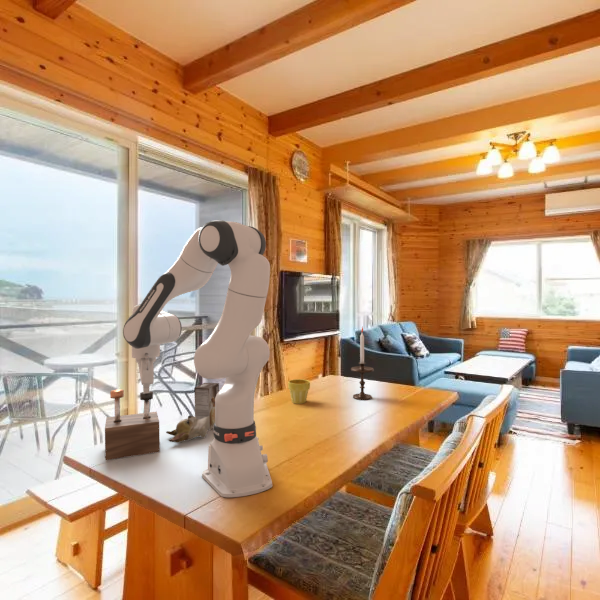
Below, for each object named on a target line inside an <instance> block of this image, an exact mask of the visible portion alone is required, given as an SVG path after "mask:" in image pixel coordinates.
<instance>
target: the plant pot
mask: <svg viewBox="0 0 600 600" xmlns="http://www.w3.org/2000/svg"><path fill="white" fill-rule="evenodd" d="M287 388H288V390H289V394H290V398H291V403H293V404H296V405H301V404H305V403H306V402H307V398H308V394H309V390H310V389H311V381H310V380H308V379H304V378H303V379H302V378H297V379H290V380H288V382H287Z"/></svg>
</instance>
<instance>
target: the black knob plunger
mask: <svg viewBox="0 0 600 600" xmlns="http://www.w3.org/2000/svg"><path fill="white" fill-rule="evenodd" d="M139 396H140V397H139V400H141V401H143V410H144V411H143V413H144V419H149V412H150V400H153V399H154V392H153V391H151V390H149V393H147V394H144V392H143V391H141V392H140V393H139Z"/></svg>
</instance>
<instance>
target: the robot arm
mask: <svg viewBox="0 0 600 600" xmlns="http://www.w3.org/2000/svg"><path fill="white" fill-rule="evenodd" d="M266 248H267V241H266V237H265V235H264V233H262V232H261V231H260V230H259V229H258V228H255V227H253V226H250V225H249V226H248V225H245V224H242V223H241V222H235V221H229V220H228V221H227V220H221V219H217V220H210V221H208V222H205V224H203V226H202V227H199V228H197V229H196V230H195V231H194V232H193V234H191V236H190V237H189V238H188V240H187V241H186V242H185V244H184V246H183V248H182V250H181V252H180V254H179V256H178V257H177V259H176V260H175V262H174V263H173V265H172V266H170V268H169V269H168V270H167V271H166V272H164V273H163V274H162V275H161V276H159V277H158V279H157V280H156V281H155V283H154V284H153V285H152V286H151V288H150V290H149V291H148V293H147V294H146V296H145V297H144V299H143V300H142V301H141V303H139V304H137V305H135V306H133V309H132V312H131V313H132V314H131V315H130V316H129V317H128V319H127V320H126V321H125V323H124V325H123V328H122V334H123V338H124V340H125V342H127V344H129V345H130V346H131V358H132V359H135V363H137V365H138V366H137V367H138V371H139V372H138V373H139V377H140V383H141V385H142V389H143V390H142V392H144V394H147V393H149V391H150V386H151V385H153V384H154V381H155V379H154V375H155V373H154V372H155V371H154V362H157V358H158V357H160V356H161V349H160V348H161V346H160V345H164V344H170V343H173V342H176V341H178V340H179V339H180V337H181V334H182V331H183V330H182V322H181V320H180V318H179V317H178V316H177V315H175V314H172V313H169V312H166V311H164V308H165V306H166V305H167V304H168V302H170V301H171V300H173V299H175V298H176V297H179V296H180V295H181V296H182V295H184V294H188V293H191V292H194V291H197V290H200V289H202V288H203V287H205V285H206V284H207V283H209V281H210V279H211V277H212V275H213V274H214V271H215V270H216V269H217V266H218V264H219V265H220V266H226V265H228V267H229V269H230V278H229V282H228V287H227V292H226V296H225V301H224V305H223V309H222V312H221V314H220V315H221V316H220V318H219V320H218V322H217V324H216V326H215V328H214V329H213V330H212V332H211V334H210V335H209V336H208V338H207V339H205V340H204V341H203V343H202V344H200V345H199V346H197V348H196V350H195V352H194V356H193V364H194V368H195V370H196V372H197V374H198V375H199V376H200V377H202V378H203V379H207V380H222V379H225V380H224V383H223V385H222V387H221V388H219V392H218V393H217V395H216V398H215V423H214V428H212V430H213V440H212V441H211V443H209V445H208V449H207V450H208V451H207V452H208V453H207V469H205V470H204V471H202V473H201V477H202V479H204V480H205V481H206V482H207V483H208V484H209V486H210V487H211V488H212V489H213V490H214V491H215V492H216V493H218V495H219V496H221V497H223V498H240V497H247V496H250V495H255V494H259V493H262V492H265V491H267V490H269V489H271V488H273V481H272V477H271V474H270V471H269V467H268V461H269V460H268V458H269V457H268V454H267V453H263V454H262V451H264V447H263V445H260V442H259V437H258V436H257V426H256V421H255V417H254V416H255V415H254V408H255V392H256V388H257V384H258V381H259V377H260V374H261V373H262V369H263V368H264V367H265V365H266V364H267V362H268V361H269V360H270V359H269V358H270V353H271V352H270V347H269V344H268V342H267V341H266V340H265V339H264V338H263V337H261V336H256V335H251V334H252V332H253V331H254V330H255V329H256V328H257V327H259V325H260V324H261V322H262V319H263V316H264V310H265V305H266V302H267V298H268V292H269V286H270V278H271V276H270V275H271V264H270V262H269V260H268V259H267V257H266V256H264V254H265V251H266Z"/></svg>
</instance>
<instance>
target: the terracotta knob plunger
mask: <svg viewBox="0 0 600 600" xmlns="http://www.w3.org/2000/svg"><path fill="white" fill-rule="evenodd" d="M124 391H125V390H124V389H122V388H121V389H120V388H119V389H112V390H110V392H109V393H110V394H109V395H110V397H109V398H110V399H113V400H114V416H115V423H116V422H120V416H121V398H124V396H125V393H124Z"/></svg>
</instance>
